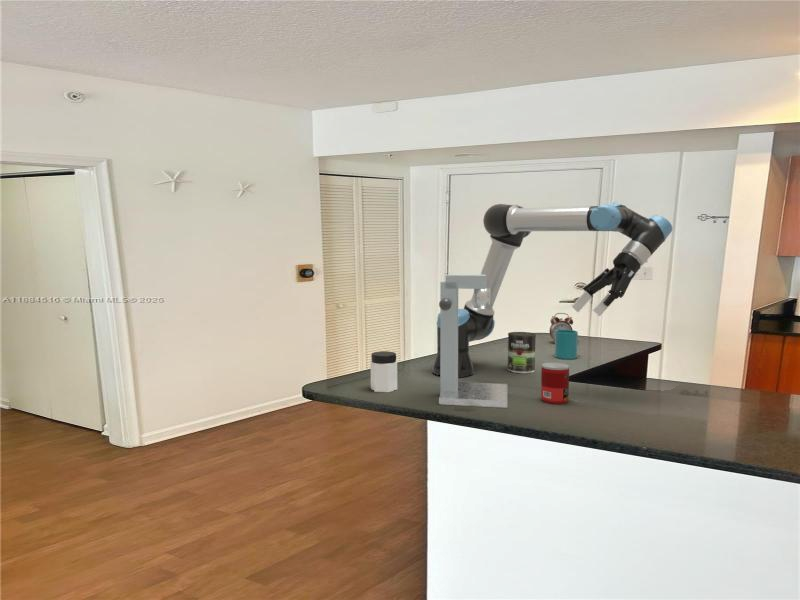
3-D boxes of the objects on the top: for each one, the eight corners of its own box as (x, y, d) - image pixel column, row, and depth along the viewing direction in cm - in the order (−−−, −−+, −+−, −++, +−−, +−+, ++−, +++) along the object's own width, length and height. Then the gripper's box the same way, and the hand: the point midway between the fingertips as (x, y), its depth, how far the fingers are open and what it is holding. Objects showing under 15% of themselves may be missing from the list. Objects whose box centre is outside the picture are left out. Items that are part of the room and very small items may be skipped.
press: (445, 387, 180) (445, 273, 176) (507, 390, 176) (509, 273, 172) (435, 406, 158) (435, 277, 154) (507, 410, 154) (509, 277, 150)
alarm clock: (549, 344, 259) (550, 313, 258) (548, 342, 264) (549, 312, 263) (573, 344, 258) (574, 313, 256) (571, 343, 262) (572, 312, 261)
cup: (586, 357, 228) (586, 331, 227) (567, 360, 222) (568, 333, 220) (568, 353, 236) (569, 328, 235) (550, 357, 229) (550, 330, 228)
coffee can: (533, 374, 198) (533, 336, 196) (505, 372, 201) (505, 334, 200) (537, 368, 207) (537, 332, 206) (510, 366, 211) (510, 331, 210)
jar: (400, 391, 175) (400, 355, 174) (376, 393, 172) (376, 356, 171) (391, 385, 184) (391, 350, 182) (368, 387, 181) (367, 351, 180)
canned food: (569, 405, 159) (570, 368, 158) (541, 403, 161) (542, 367, 159) (567, 398, 166) (567, 362, 165) (540, 396, 168) (540, 362, 167)
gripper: (664, 267, 152) (615, 323, 151) (617, 267, 177) (574, 315, 176) (646, 249, 151) (597, 305, 150) (601, 251, 176) (559, 300, 175)
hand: (585, 311), depth 163 cm, fingers open, 13 cm apart
